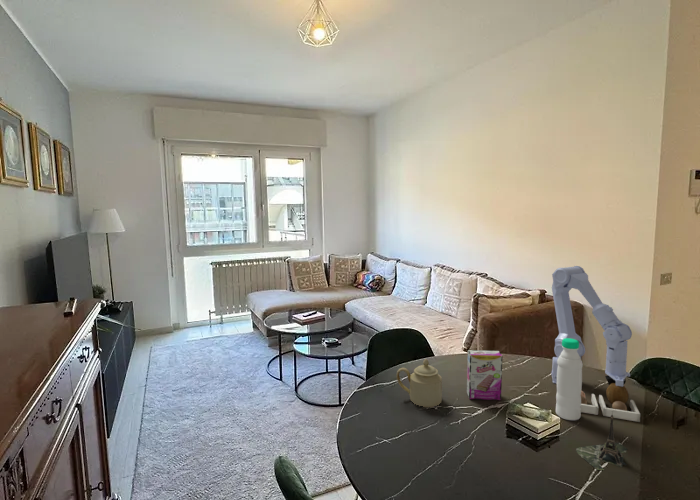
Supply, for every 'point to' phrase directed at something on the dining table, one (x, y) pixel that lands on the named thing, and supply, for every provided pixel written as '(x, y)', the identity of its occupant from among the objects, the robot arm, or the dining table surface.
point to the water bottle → (569, 381)
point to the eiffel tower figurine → (604, 452)
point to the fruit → (617, 393)
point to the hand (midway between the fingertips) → (614, 397)
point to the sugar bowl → (423, 385)
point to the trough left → (590, 407)
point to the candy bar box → (484, 375)
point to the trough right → (620, 411)
